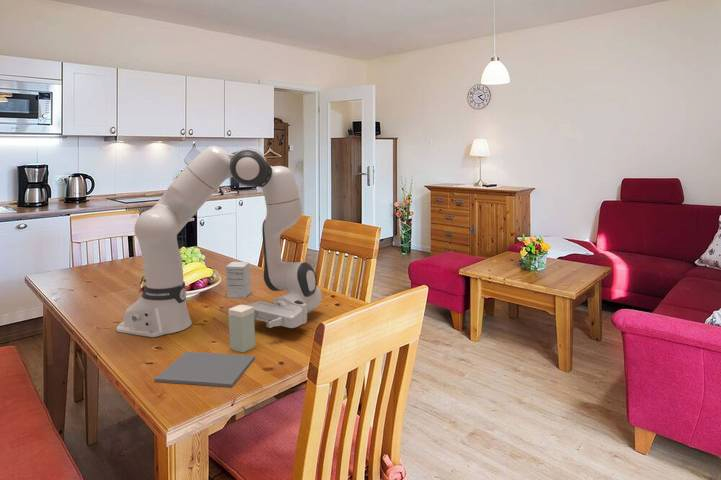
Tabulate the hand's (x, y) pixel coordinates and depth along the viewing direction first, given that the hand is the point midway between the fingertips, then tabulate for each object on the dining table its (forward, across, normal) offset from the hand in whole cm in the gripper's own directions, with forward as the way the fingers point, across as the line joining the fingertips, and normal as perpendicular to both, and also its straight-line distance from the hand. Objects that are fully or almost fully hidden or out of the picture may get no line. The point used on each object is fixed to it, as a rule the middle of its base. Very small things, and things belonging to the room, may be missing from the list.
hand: (255, 321), depth 140 cm
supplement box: (-30, -37, +6) cm, 48 cm away
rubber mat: (+21, +2, +6) cm, 22 cm away
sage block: (+6, 0, +6) cm, 8 cm away
